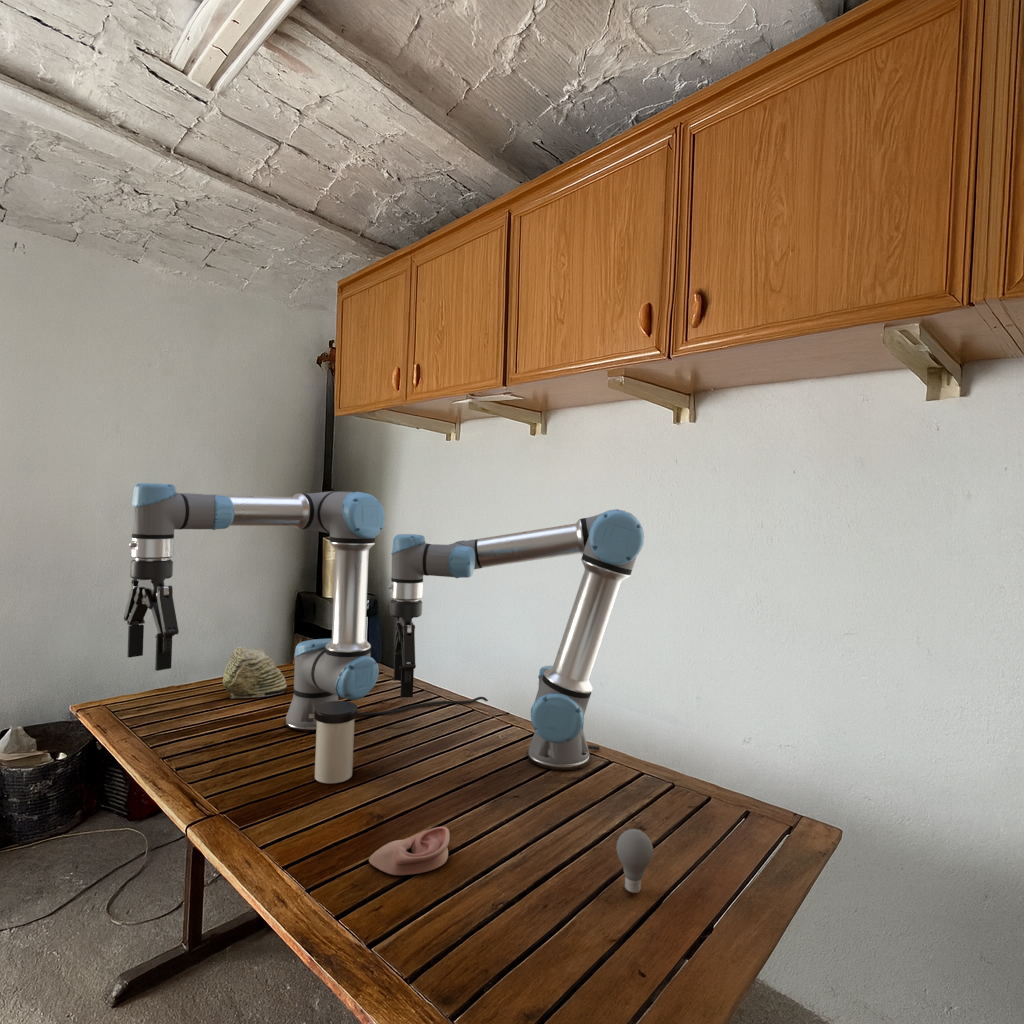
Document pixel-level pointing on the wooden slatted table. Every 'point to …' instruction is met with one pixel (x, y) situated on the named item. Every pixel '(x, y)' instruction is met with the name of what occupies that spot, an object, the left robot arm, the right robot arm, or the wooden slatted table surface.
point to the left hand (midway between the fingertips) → (148, 662)
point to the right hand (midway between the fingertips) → (402, 688)
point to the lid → (335, 712)
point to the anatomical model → (413, 853)
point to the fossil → (252, 674)
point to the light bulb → (634, 857)
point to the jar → (334, 752)
